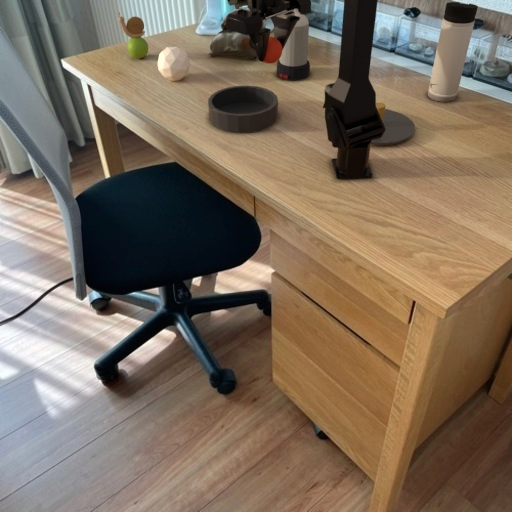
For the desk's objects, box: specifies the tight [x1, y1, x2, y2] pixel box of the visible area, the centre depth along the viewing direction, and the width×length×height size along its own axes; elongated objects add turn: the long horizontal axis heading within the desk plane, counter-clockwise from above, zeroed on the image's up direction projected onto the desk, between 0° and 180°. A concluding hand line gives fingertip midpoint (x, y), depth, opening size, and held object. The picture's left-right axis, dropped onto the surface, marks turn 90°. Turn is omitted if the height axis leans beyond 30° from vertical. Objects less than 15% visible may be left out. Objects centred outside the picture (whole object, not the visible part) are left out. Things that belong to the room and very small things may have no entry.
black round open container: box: [207, 85, 279, 134], centre depth 112 cm, size 15×15×4 cm
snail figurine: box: [116, 11, 149, 59], centre depth 137 cm, size 5×6×12 cm
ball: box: [263, 36, 282, 65], centre depth 106 cm, size 5×5×5 cm
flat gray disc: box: [347, 101, 416, 146], centre depth 107 cm, size 15×15×5 cm
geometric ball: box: [156, 46, 191, 82], centre depth 127 cm, size 8×8×8 cm
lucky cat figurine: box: [206, 6, 258, 59], centre depth 137 cm, size 15×12×14 cm
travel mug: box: [427, 1, 479, 103], centre depth 113 cm, size 6×7×20 cm
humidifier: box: [276, 9, 311, 82], centre depth 123 cm, size 8×8×25 cm
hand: (269, 57), depth 107 cm, fingers closed on ball, 5 cm apart
